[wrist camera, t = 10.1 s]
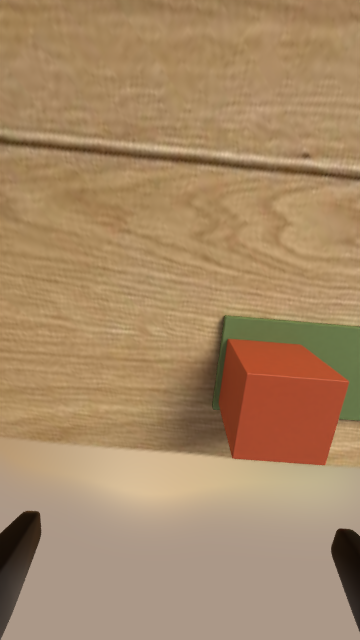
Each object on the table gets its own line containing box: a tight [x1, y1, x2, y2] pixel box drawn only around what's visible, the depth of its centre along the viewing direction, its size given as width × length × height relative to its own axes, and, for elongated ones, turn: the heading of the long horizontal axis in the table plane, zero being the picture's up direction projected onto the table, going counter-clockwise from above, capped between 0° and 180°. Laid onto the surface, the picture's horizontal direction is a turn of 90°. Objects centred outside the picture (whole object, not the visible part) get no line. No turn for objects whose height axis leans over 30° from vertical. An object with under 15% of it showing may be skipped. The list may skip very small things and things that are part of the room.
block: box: [219, 339, 349, 465], centre depth 15 cm, size 5×5×5 cm
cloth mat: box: [212, 315, 360, 421], centre depth 18 cm, size 19×7×1 cm, turn 85°
